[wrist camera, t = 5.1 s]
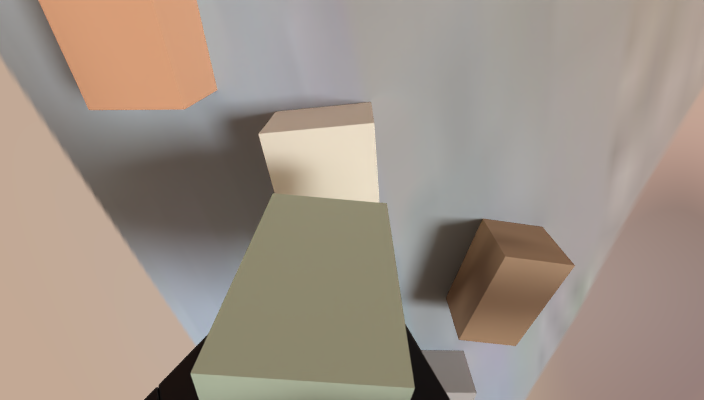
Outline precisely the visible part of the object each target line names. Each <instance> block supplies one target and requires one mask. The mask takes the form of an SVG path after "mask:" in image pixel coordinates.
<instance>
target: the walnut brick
mask: <svg viewBox="0 0 704 400" xmlns="http://www.w3.org/2000/svg"><path fill="white" fill-rule="evenodd" d="M574 266H575V265H574V264H573V263H572V262H571V260H570V259H569V258H568V257H567V256H566V254H565V253H564V252H563V251H562V250H561V248H560V247H559V246H558V245H557V244H556V243H555V241H554V240H553V239H552V238H551V237H550V235H549V234H548V233H547V232H546V231H545V229H544V228H543V227H540V226H533V225H525V224H518V223H511V222H504V221H497V220H489V219H482V221H481V224H480V226H479V228H478V230H477V232H476V234H475V236H474V239H473V241H472V243H471V245H470V247H469V249H468V252H467V254H466V256H465V258H464V260H463V262H462V264H461V267H460V269H459V271H458V273H457V275H456V277H455V280H454V282H453V284H452V286H451V288H450V290H449V292H448V295H447V297H446V299H447V303H448V306H449V309H450V312H451V316H452V319H453V322H454V326H455V329H456V332H457V335H458V339H459V340H466V341H475V342H485V343H494V344H503V345H512V346H516V345H517V344H518V342H519V341H520V340H521V338H522V337H523V335H524V334H525V333H526V331H527V330H528V329H529V327H530V326H531V325H532V323H533V322H534V320H535V319H536V318H537V316H538V315H539V314H540V312H541V311H542V310H543V308H544V307H545V306H546V304H547V303H548V301H549V300H550V299H551V297H552V296H553V295H554V293H555V292H556V291H557V289H558V288H559V286H560V285H561V284H562V282H563V281H564V280H565V278H566V277H567V276H568V274H569V273H570V272H571V270H572V269H573V267H574Z"/></svg>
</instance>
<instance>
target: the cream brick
mask: <svg viewBox="0 0 704 400" xmlns="http://www.w3.org/2000/svg"><path fill="white" fill-rule="evenodd" d="M259 138H260V142H261V145H262V149H263V153H264V156H265V160H266V164H267V167H268V171H269V175H270V178H271V182H272V186H273V190H274V193H275V194H287V195H298V196H309V197H320V198H332V199H343V200H354V201H365V202H377V203H379V190H378V174H377V159H376V143H375V128H374V118H373V112H372V105H371V102H367V103H357V104H347V105H337V106H326V107H316V108H306V109H296V110H286V111H276V112H275V113H274V115H273V116H272V117H271V119H270V120H269V121H268V122H267V124H266V125H265V126H264V127H263V129H262V130H261V131H260V133H259Z"/></svg>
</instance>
